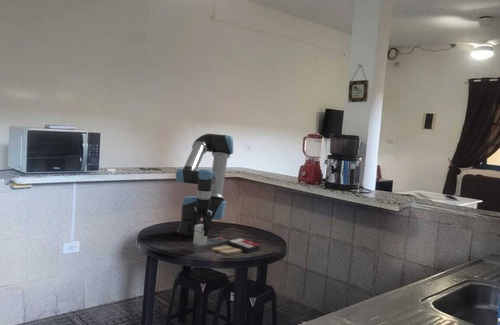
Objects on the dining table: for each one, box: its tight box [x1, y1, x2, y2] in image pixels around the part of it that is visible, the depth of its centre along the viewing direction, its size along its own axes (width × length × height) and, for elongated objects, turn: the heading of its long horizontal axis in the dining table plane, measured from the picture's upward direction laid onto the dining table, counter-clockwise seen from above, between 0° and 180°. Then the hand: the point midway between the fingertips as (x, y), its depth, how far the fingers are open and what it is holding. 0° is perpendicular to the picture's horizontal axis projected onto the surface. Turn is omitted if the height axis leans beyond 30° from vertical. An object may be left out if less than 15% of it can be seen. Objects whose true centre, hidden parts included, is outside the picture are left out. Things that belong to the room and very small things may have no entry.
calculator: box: [228, 237, 261, 254], centre depth 233 cm, size 11×4×15 cm
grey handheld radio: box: [184, 236, 229, 254], centre depth 230 cm, size 32×8×4 cm, turn 142°
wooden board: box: [211, 245, 242, 256], centre depth 225 cm, size 12×12×1 cm
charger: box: [192, 223, 208, 246], centre depth 223 cm, size 5×5×12 cm
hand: (200, 240), depth 223 cm, fingers closed on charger, 5 cm apart
